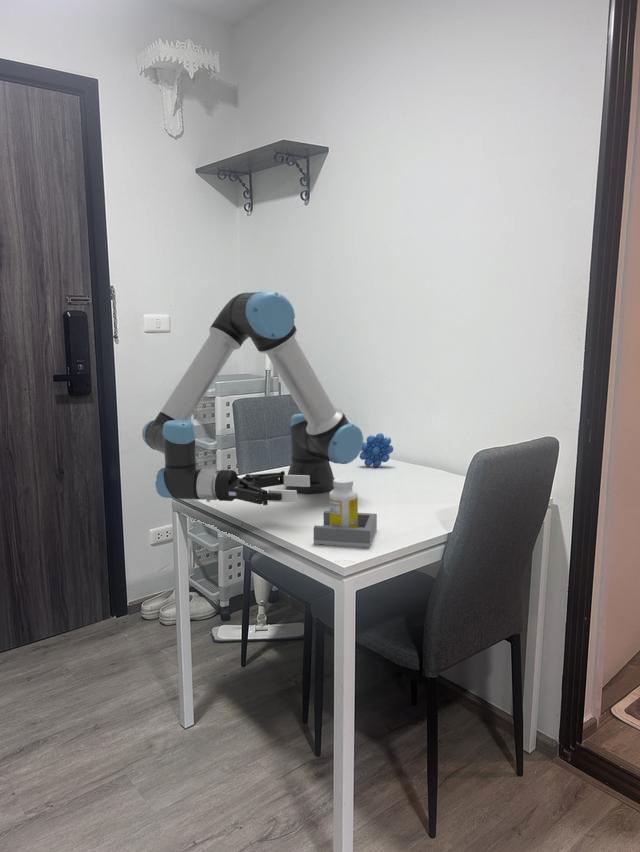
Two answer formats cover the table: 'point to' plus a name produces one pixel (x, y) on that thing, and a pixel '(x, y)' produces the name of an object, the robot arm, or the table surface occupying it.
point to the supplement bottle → (343, 504)
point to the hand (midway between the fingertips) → (303, 488)
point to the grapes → (376, 450)
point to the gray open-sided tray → (347, 532)
